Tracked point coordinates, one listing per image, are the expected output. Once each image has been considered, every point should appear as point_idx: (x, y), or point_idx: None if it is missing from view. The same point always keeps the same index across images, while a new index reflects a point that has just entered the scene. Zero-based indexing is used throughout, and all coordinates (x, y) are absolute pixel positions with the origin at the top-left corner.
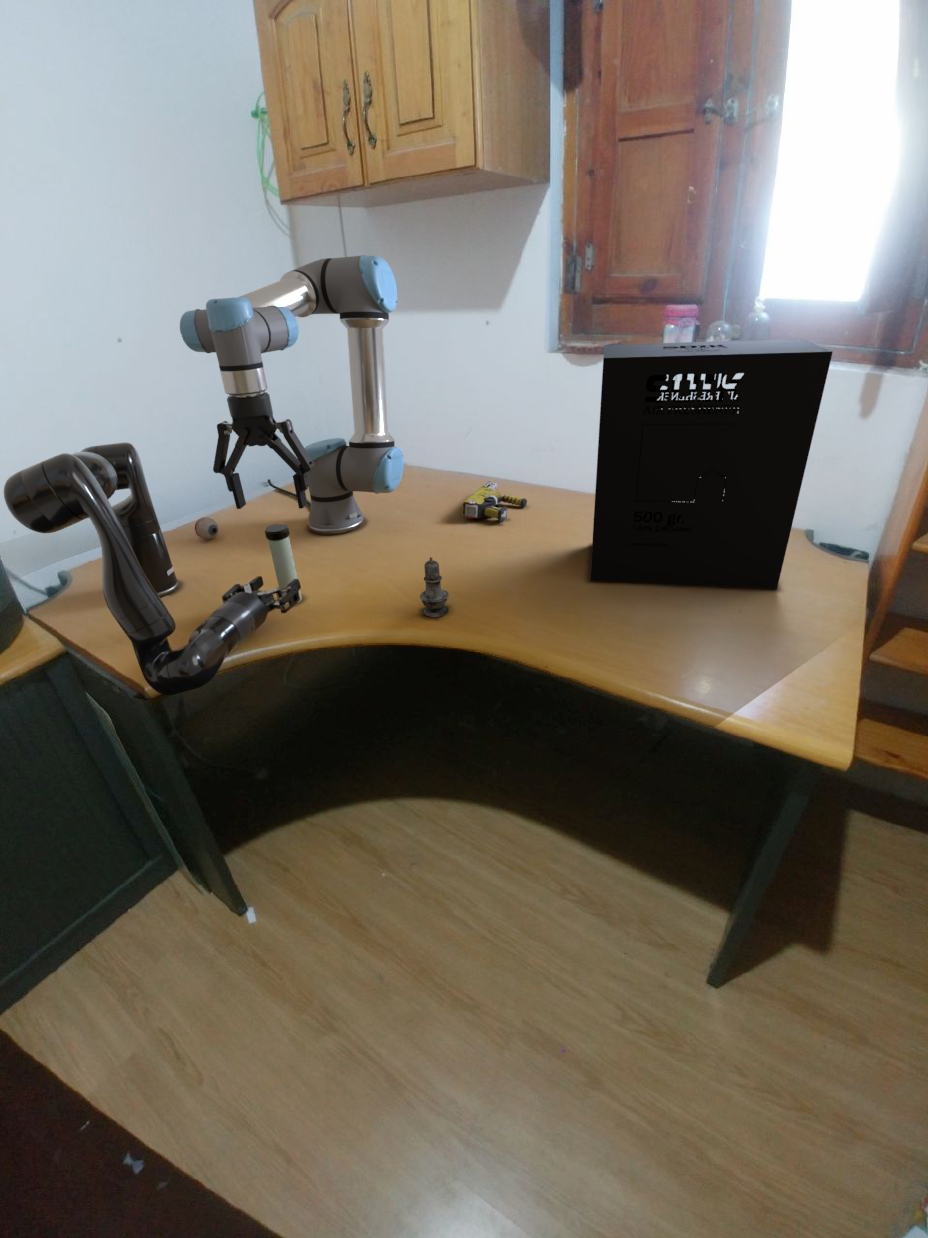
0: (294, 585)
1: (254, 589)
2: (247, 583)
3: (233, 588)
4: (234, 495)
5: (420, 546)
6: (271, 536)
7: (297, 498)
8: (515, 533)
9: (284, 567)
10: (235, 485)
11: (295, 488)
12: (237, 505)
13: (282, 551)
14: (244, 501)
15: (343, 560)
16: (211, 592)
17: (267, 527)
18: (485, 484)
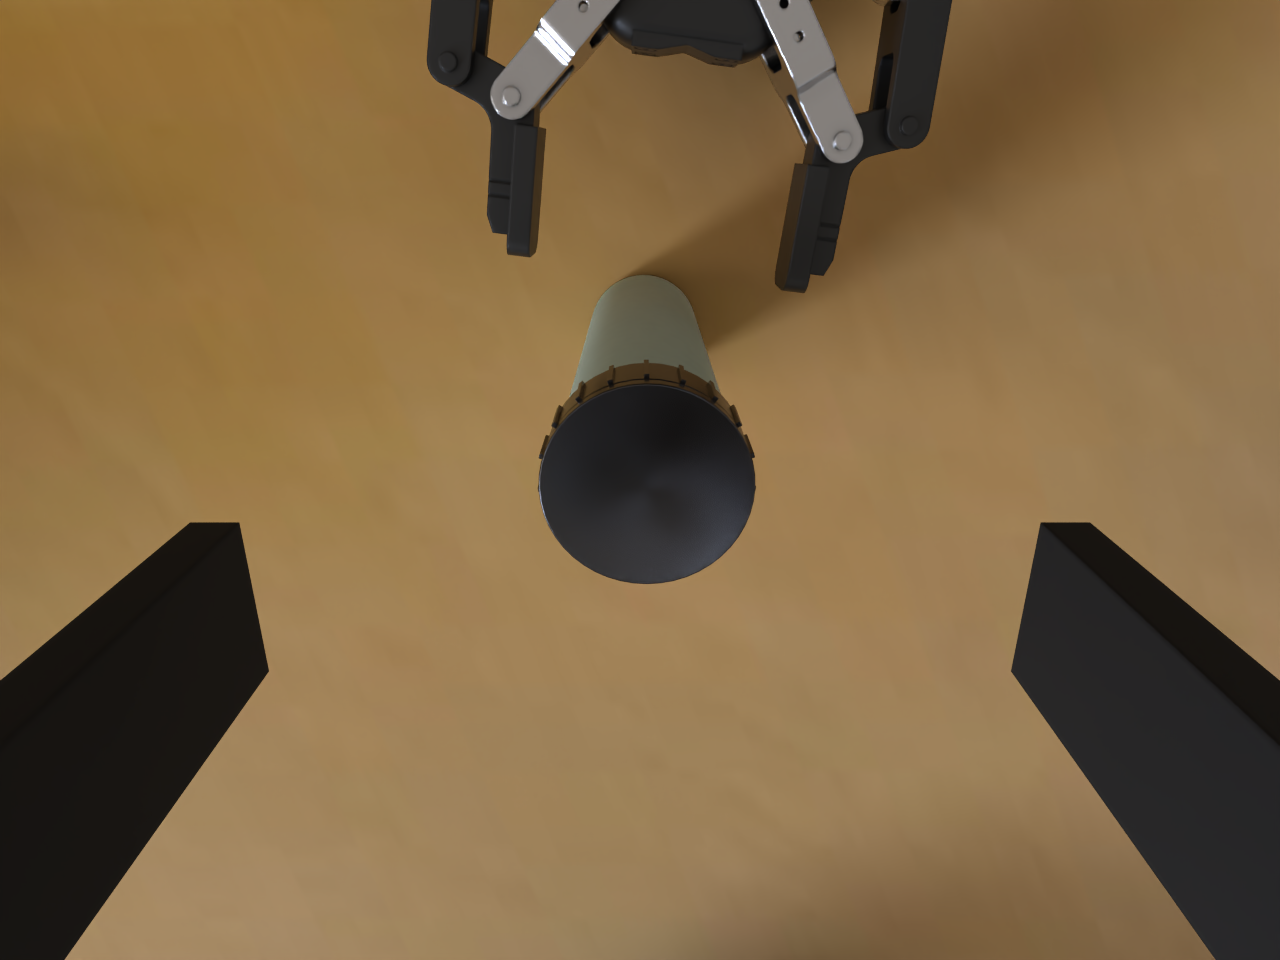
0: (501, 165)
1: (796, 172)
2: (836, 146)
3: (917, 68)
4: (1187, 619)
5: (209, 879)
6: (659, 371)
7: (163, 588)
8: None
9: (615, 323)
10: (1241, 743)
11: (64, 680)
12: (1092, 543)
13: (601, 355)
14: (1035, 677)
15: (535, 748)
16: (1136, 407)
17: (738, 495)
18: None
